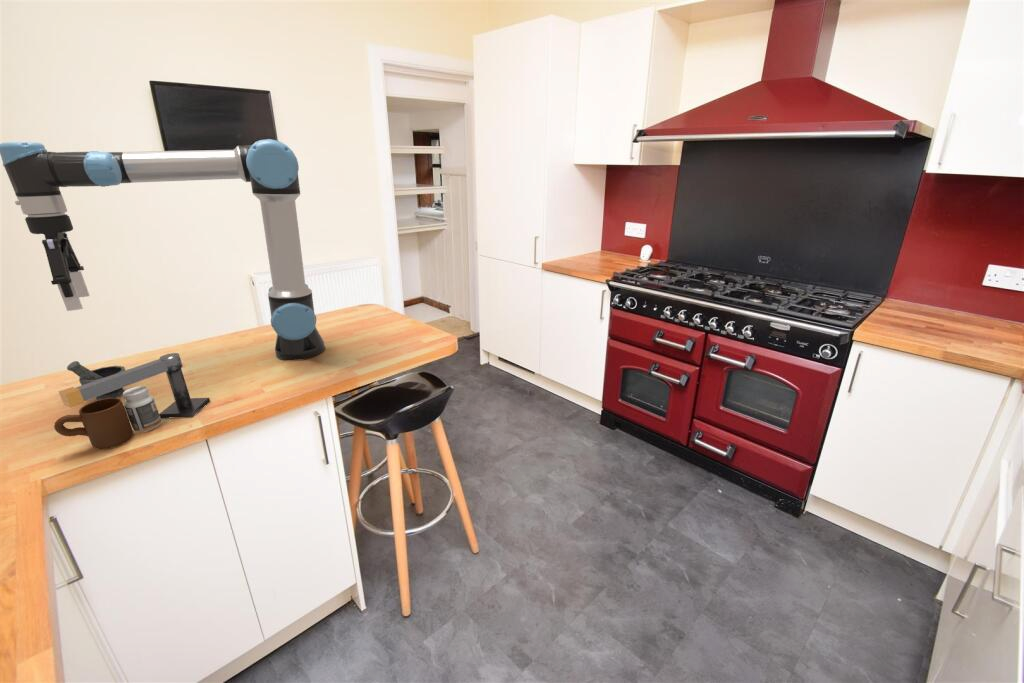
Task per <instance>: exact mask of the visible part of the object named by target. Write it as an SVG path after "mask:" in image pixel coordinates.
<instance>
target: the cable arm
mask: <svg viewBox="0 0 1024 683" xmlns="http://www.w3.org/2000/svg"><path fill="white" fill-rule="evenodd" d="M180 368H181V369H182V368H183V363H182V359H181V356H180V353H178V352H172V353H167V354H164V355H161V356H160V357H159V358H158V359H155V360H152V361H150V362H146V363H144V364H140V365H138V366H135V367H132V368H129V369H125V371H123V372H120V373H117V374H114V375H111V376H108V377H105V378H102V379H99V380H96V381H93V382H90V383H87V384H84V385H79V386H76V387H74V386H72V387H68V388H65V389H62V390H60V391H58V394H59V396H60V399H61V401H62V404H63V405H64V406H66V407H68V408H70V409H72V408H75V407H77V406H80V405H83V404H86V402H87V401H90V400H93V399H96V397H98V396H101V395H103V394H106V393H109V392H112V391H114V390H117V389H120V388H123V389H124V388H125V387H128V386H131V385H133V384H136V383H138V382H142V381H144V380H146V379H150V378H152V377H156V376H158V375H160V374H163V373H166V371H167V372H168V371H175V370H178V369H180Z"/></svg>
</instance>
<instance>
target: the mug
mask: <svg viewBox="0 0 1024 683" xmlns="http://www.w3.org/2000/svg"><path fill="white" fill-rule="evenodd" d="M66 423H82V425H83V427H82V426H79V427H73V428H68V427H66V426H65V424H66ZM53 427H54V430H55V431H56V433H58V434H59V435H61V436H63V437H76V436H82V437H88V439H89V442H90V445H91V446H92V447H93V448H94V449H96V450H108V449H113V448H116V447H119V446H122V445H124V444H126V443H127V442H129V441H130V440H131V439H132V438H133V436H134V430H133V428H132V425H131V423H130V420H129V417H128V415H127V412H126V410H125V407H124V403H123V402H122V400H121V398H120V397H118V398H106V399H101V400H94V401H91V402H89V403H85V405H83V406H82V407H80V409H79V410H78V414H66V415H63V416H61V417H59V418H57V420H56V421H55V422H54V425H53Z"/></svg>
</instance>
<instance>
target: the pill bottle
mask: <svg viewBox="0 0 1024 683" xmlns="http://www.w3.org/2000/svg"><path fill="white" fill-rule="evenodd" d="M149 392H150V391H149V388H148V387H147V386H143V385H142V386H134V387H132V388H129V389H126V390H124V392H123V395H122V397H123V399H124V400H125V401H124V403H123V405H124V408H125V410H126V413H127V416H128V418H129V421H130V424H131V427H132V430H133V432H136V433H145V432H149V431H151V430H154V429H156V428H159V426H160V425H161V424H162V418H160V415H159V414H160V412H159V410H158V407H157V405H156V404H157V403H156V401H155V398H154V397H153V395H151V394H149Z"/></svg>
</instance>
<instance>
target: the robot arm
mask: <svg viewBox="0 0 1024 683" xmlns="http://www.w3.org/2000/svg"><path fill="white" fill-rule="evenodd" d="M0 157H1V160H2V166H3V167H4V170H5V172H6V174H7V177H8V179H9V181H10V184H11V186H12V188H13V192H14V194H15V196H16V199H17V200H15V201H14V203H15V205H16V206H20V210H21V211H22V214H23V215H26V217H25V219H24V220H25V223H26V226H27V229H28V231H29V232H30V234H33V235H41V234H42V235H44V239H42V240H41V244H42V245H43V248H44V250H45V254H46V257H47V262H48V266H49V269H50V273H51V276H52V280H51V284H52V285H53V286H54V285H56V286H57V287H58V291H59V293H60V296H61V298H62V302H63V304H64V306H65V309H66V311H67V312H72V311H77V310H83V309H84V307H83V305H82V302H81V300H80V298H85V297H90V292H89V290H88V288H87V285H86V282H85V279H84V275H83V273H82V271H84V270H85V268H84V266H83V265H81V262H79V258H77V255H76V253H75V251H74V249H73V247H72V245H71V243H70V242H71V241H70V240H69V238H68V237H69V236H68V234H67V233H68V232H71V231H73V230H74V226H73V224H72V221H71V218H70V216H69V215H68V214H66V213H67V212H68V209H67V205H66V203H65V200H64V197H63V194H62V192H61V190H60V188H68V187H72V188H73V187H76V188H77V187H79V188H80V187H100V188H101V187H104V188H105V187H110V186H111V187H112V186H118V185H121V184H131V183H135V184H137V183H152V182H153V183H157V182H158V183H159V182H162V183H163V182H184V181H185V182H186V181H189V182H190V181H208V180H209V181H212V180H215V181H216V180H235V179H236V180H238V179H240V180H242V181H244V182H245V183H250V185H251V190H252V192H251V193H252V195H253V196H255V197H256V198H257V199H258V200H259V202H260V210H261V216H262V217H261V218H262V222H263V228H264V230H263V231H264V236H265V237H264V238H265V244H266V249H267V257H268V263H269V264H268V265H269V270H270V277H271V283H272V284H271V285H272V286H271V287H269V288H268V292H267V297H268V298H267V299H268V304H269V311H270V317H271V318H270V325H271V327H272V329H273V331H274V332H275V334H276V340H275V347H274V351H275V352H274V353H275V357H276V358H278V359H279V360H282V361H299V360H301V361H302V360H307V359H310V358H313V357H317V356H318V355H320V354H322V353H323V352H324V351H325V350H326V347H325V346H326V345H325V341H324V339H323V337H322V335H321V334H320V333H319V332H320V331H318V329H317V327H316V325H317V316H316V313H315V307H314V300H313V291H312V289H311V288H309V286H308V284H307V283H306V278H305V271H304V263H303V254H302V247H301V239H300V237H301V236H300V230H299V228H300V227H299V222H298V221H299V220H298V214H297V205H296V200H297V199H298V198H299V196H301V188H300V180H299V160H298V159H297V157H296V155H295V153H294V151H293V150H292V149H291V148H290V147H289V145H286V144H285V143H284V142H282V141H279V140H277V139H271V138H267V139H263V138H262V139H260V140H257V141H255V142H254V143H253V144H248V145H237V146H236V147H235V148H233V149H211V150H210V149H207V150H205V149H204V150H201V149H200V150H163V151H162V150H157V151H156V150H153V151H123V152H122V151H110V152H109V151H108V152H107V151H64V152H63V151H61V152H58V151H57V152H55V151H48V149H46V147H45V145H44V144H43V143H41V142H31V141H29V142H28V141H27V142H23V141H22V142H20V141H19V142H17V141H16V142H15V141H11V142H10V141H9V142H5V141H4V142H2V143H0Z"/></svg>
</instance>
